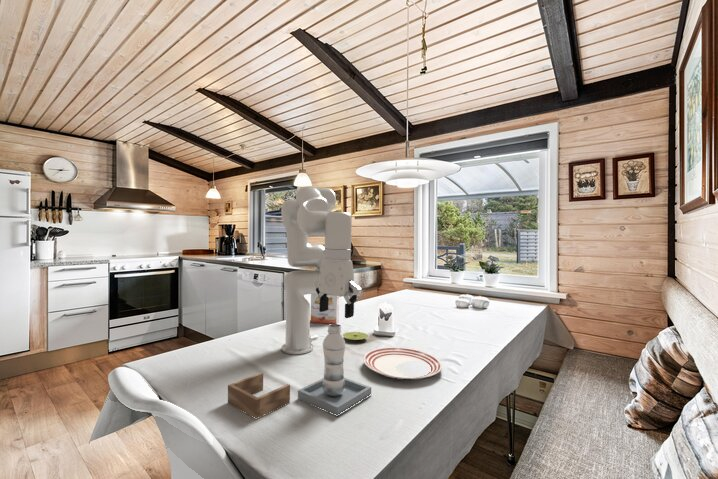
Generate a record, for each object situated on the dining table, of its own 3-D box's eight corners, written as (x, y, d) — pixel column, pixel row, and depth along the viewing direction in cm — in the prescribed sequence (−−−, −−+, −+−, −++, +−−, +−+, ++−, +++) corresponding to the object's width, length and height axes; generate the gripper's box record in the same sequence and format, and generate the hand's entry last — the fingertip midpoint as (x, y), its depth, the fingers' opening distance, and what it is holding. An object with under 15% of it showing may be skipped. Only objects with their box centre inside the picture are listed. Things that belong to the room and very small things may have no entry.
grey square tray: (333, 381, 111) (333, 373, 111) (371, 395, 101) (371, 387, 101) (297, 398, 99) (298, 390, 99) (337, 417, 90) (337, 407, 90)
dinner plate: (444, 360, 131) (444, 351, 131) (437, 392, 105) (438, 381, 105) (374, 351, 139) (374, 343, 139) (352, 378, 113) (352, 368, 113)
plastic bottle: (342, 400, 97) (343, 329, 96) (318, 397, 98) (320, 327, 97) (347, 390, 103) (348, 323, 102) (325, 387, 104) (326, 321, 104)
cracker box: (310, 322, 179) (310, 282, 178) (313, 319, 185) (314, 280, 184) (336, 324, 176) (337, 283, 176) (339, 321, 182) (339, 281, 182)
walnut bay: (261, 388, 104) (261, 372, 104) (289, 402, 96) (290, 385, 96) (227, 402, 96) (227, 385, 95) (256, 419, 88) (256, 400, 88)
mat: (354, 334, 161) (354, 330, 161) (373, 339, 154) (373, 335, 153) (337, 339, 152) (337, 335, 152) (357, 345, 145) (357, 341, 145)
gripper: (306, 253, 101) (305, 311, 102) (352, 258, 91) (351, 322, 91) (324, 252, 107) (323, 306, 108) (369, 256, 97) (367, 317, 97)
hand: (336, 314), depth 100 cm, fingers open, 9 cm apart
